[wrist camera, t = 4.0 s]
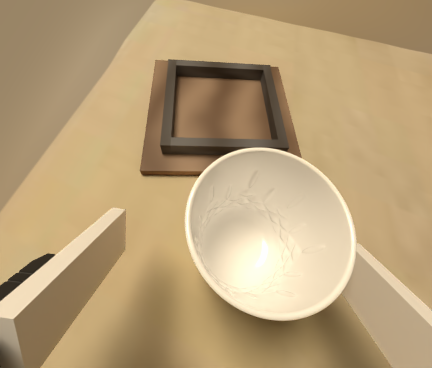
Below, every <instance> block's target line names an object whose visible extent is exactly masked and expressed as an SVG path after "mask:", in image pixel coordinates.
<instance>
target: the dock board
mask: <svg viewBox="0 0 432 368" xmlns="http://www.w3.org/2000/svg"><path fill="white" fill-rule="evenodd" d="M246 148H272V149H277V150H281V151H285V152H288V153H291V154H293V155H296V156H298V157H300V158H302V157H301V153H300V150H299V146H298V142H297V138H296V134H295V130H294V126H293V123H292V119H291V115H290V111H289V107H288V103H287V99H286V96H285V92H284V88H283V84H282V80H281V76H280V72H279V69H278V67H270V65H256V64H239V63H222V62H204V61H187V60H170V59H168V61H164V60H156V61H155V68H154V75H153V82H152V89H151V96H150V103H149V110H148V117H147V125H146V132H145V139H144V146H143V153H142V160H141V167H140V172H141V174H142V175H201V174H202V172H203V171H204V170H205V169H206V168H207V167H208V166H209V165H211V164H212V163H213V162H214V161H216V160H217V159H219V158H220V157H222V156H224V155H226V154H228V153H231V152H234V151H237V150H241V149H246Z"/></svg>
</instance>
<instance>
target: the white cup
mask: <svg viewBox="0 0 432 368" xmlns="http://www.w3.org/2000/svg"><path fill="white" fill-rule="evenodd" d="M185 233H186V239H187V244H188V248H189V251H190V254H191V256H192V259H193V261H194V263H195V265H196V267H197V269H198V271H199V272H200V274H201V275H202V277H203V278H204V280H205V281H206V282H207V283H208V285H209V286H210V287H211V288H212V289H213V290H214V291H215V292H216V293H217V294H218V295H219V296H220V297H221V298H223V299H224V300H225V301H226V302H228V303H229V304H231V305H232V306H234V307H235V308H237V309H239V310H241V311H243V312H245V313H247V314H250V315H252V316H255V317H259V318H263V319H267V320H275V321H290V320H297V319H302V318H305V317H309V316H311V315H314V314H316V313H318V312H320V311H321V310H323V309H325V308H326V307H328V306H329V305H330V304H331V303H332V302H334V301H335V300H336V299H337V298H338V296H339V295H340V294H341V293H342V291H343V290H344V288H345V287H346V285H347V283H348V281H349V279H350V277H351V275H352V272H353V269H354V265H355V260H356V249H357V243H356V233H355V227H354V223H353V220H352V216H351V214H350V211H349V209H348V207H347V204H346V203H345V201H344V199H343V197H342V196H341V194H340V192H339V191H338V190H337V188H336V187H335V186H334V184H333V183H332V182H331V181H330V180H329V179H328V178H327V177H326V176H325V175H324V174H323V173H322V172H321V171H320V170H318V169H317V168H316V167H315V166H313V165H312V164H310V163H309V162H307V161H305V160H304V159H302V158H300V157H298V156H296V155H293V154H291V153H288V152H285V151H281V150H277V149H272V148H246V149H241V150H237V151H234V152H231V153H228V154H226V155H224V156H222V157H220V158H219V159H217V160H216V161H214V162H213V163H212V164H211V165H209V166H208V167H207V168H206V169H205V170H204V171H203V172H202V174H201V175H200V176H199V178H198V179H197V181H196V182H195V184H194V186H193V188H192V190H191V192H190V195H189V198H188V201H187V206H186V212H185Z"/></svg>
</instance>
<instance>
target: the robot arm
mask: <svg viewBox="0 0 432 368" xmlns="http://www.w3.org/2000/svg"><path fill="white" fill-rule="evenodd" d="M125 231H126V209H119V208H111V209H110V210H109V211H108V212H106V213H105V214H104V215H103V216H102V217H101V218H99V219H98V220H97V221H96V222H95V223H93V224H92V225H91V226H90V227H89V228H87V229H86V230H85V231H84V232H83V233H81V234H80V235H79V236H78V237H77V238H75V239H74V240H73V241H72V242H71V243H69V244H68V245H67V246H66V247H65V248H63V249H62V250H61V251H60V252H59V253H58V254H56V255H55V254H46V255H44V256H42V257H40V258H38V259H35V260H33V261H32V262H30V263H29V264H28V265H26V266H25V267H24V268H23V269H21V270H20V271H19V273H16V274H15V275H13V276H12V277H11V278H9V279H8V281H7V282H4V283H3V284H2V285H0V368H40V367H41V366H42V364H43V363H44V361H45V360H46V359H47V357H48V356H49V355H50V353H51V352H52V350H53V349H54V348H55V346H56V345H57V343H58V342H59V341H60V339H61V338H62V337H63V335H64V334H65V332H66V331H67V330H68V328H69V327H70V325H71V324H72V323H73V321H74V320H75V318H76V317H77V316H78V314H79V313H80V312H81V310H82V309H83V307H84V306H85V305H86V303H87V302H88V300H89V299H90V298H91V296H92V295H93V294H94V292H95V291H96V289H97V288H98V287H99V285H100V284H101V282H102V281H103V280H104V278H105V277H106V275H107V274H108V273H109V271H110V270H111V269H112V267H113V266H114V264H115V263H116V262H117V260H118V259H119V257H120V256H121V255H122V253H123V252H124V251H125ZM342 295H343V296H344V298H345V299H346V300H347V302H348V303H349V305H350V306H351V308H352V309H353V311H354V312H355V314H356V315H357V317H358V318H359V320H360V321H361V323H362V324H363V325H364V327H365V328H366V330H367V331H368V333H369V334H370V336H371V337H372V339H373V340H374V342H375V343H376V345H377V346H378V348H379V349H380V350H381V352H382V353H383V355H384V356H385V358H386V359H387V361H388V362H389V364H390V365H391V367H392V368H432V310H431V309H430V308H429V307H428V306H427V305H425V304H424V303H423V302H422V301H421V300H420V299H419V298H418V297H417V296H416V295H415V294H413V293H412V292H411V291H410V290H409V289H408V288H407V287H406V286H405V285H404V284H403V283H402V282H400V281H399V280H398V279H397V278H396V277H395V276H394V275H393V274H392V273H391V272H390V271H389V270H387V269H386V268H385V267H384V266H383V265H382V264H381V263H380V262H379V261H378V260H377V259H376V258H374V257H373V256H372V255H371V254H370V253H369V252H368V251H367V250H366V249H365V248H364V247H362V246H361V245H360V244H357V249H356V260H355V265H354V269H353V272H352V275H351V277H350V279H349V281H348V283H347V285H346V287H345V288H344V290H343V291H342Z"/></svg>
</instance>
